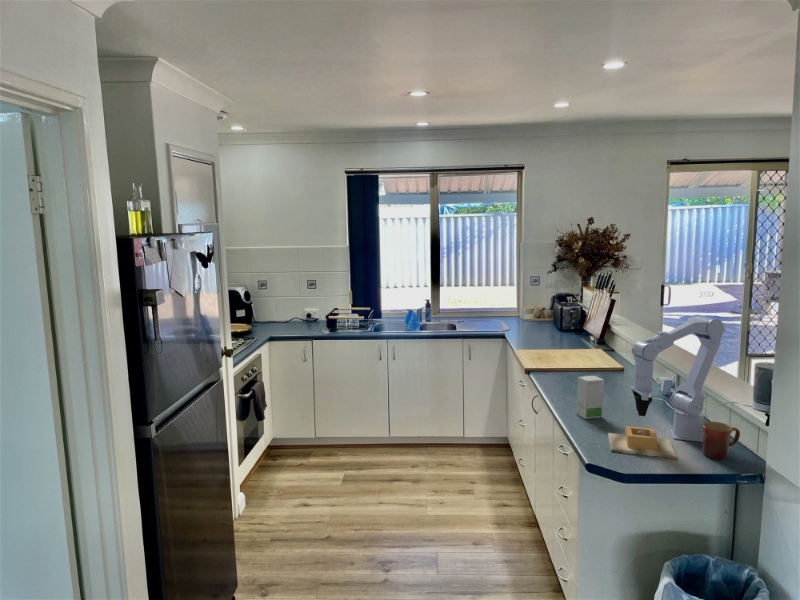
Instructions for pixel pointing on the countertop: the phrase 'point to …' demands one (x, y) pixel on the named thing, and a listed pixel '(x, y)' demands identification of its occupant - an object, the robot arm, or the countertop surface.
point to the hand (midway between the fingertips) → (641, 413)
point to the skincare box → (590, 397)
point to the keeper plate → (620, 445)
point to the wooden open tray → (641, 438)
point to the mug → (718, 439)
